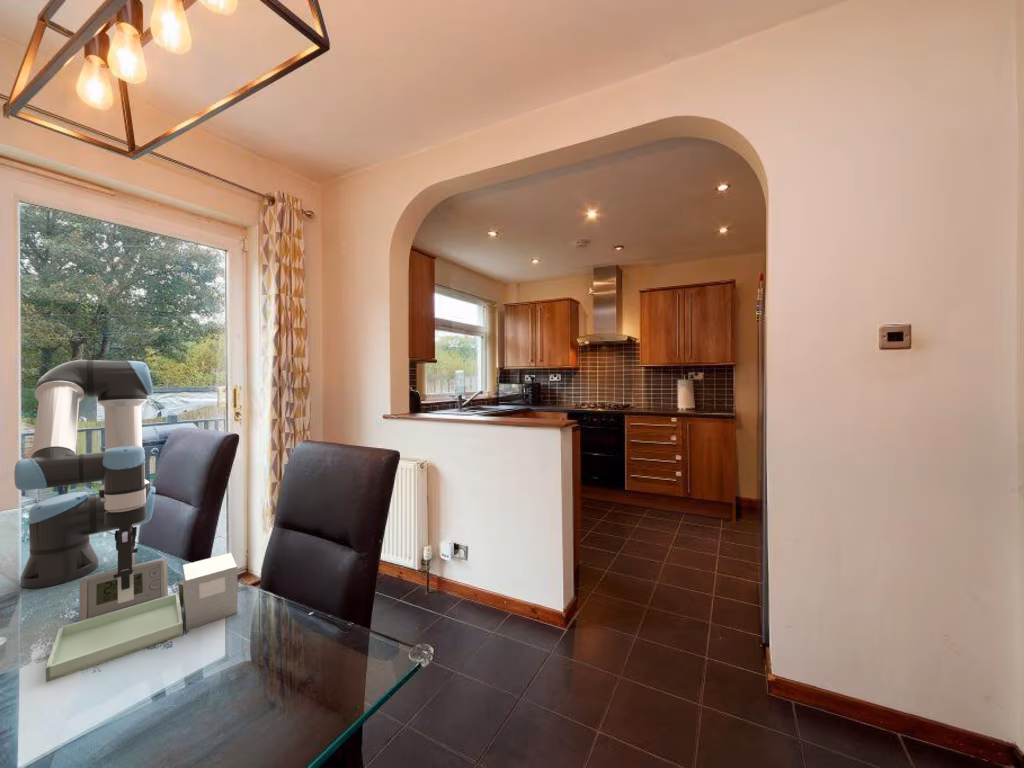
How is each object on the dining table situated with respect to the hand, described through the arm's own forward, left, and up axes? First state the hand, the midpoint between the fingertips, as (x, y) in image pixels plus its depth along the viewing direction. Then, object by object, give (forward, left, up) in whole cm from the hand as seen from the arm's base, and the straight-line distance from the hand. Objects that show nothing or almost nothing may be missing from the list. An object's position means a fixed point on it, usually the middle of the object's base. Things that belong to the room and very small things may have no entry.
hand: (127, 589), depth 100 cm
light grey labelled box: (+16, +15, -5) cm, 23 cm away
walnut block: (+6, +13, -5) cm, 15 cm away
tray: (+14, -1, -5) cm, 14 cm away
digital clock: (0, 0, -5) cm, 5 cm away
